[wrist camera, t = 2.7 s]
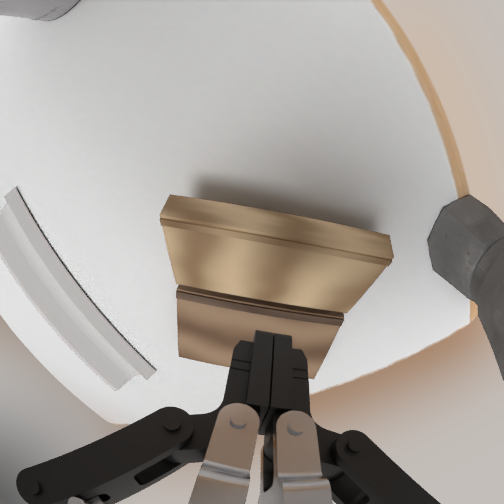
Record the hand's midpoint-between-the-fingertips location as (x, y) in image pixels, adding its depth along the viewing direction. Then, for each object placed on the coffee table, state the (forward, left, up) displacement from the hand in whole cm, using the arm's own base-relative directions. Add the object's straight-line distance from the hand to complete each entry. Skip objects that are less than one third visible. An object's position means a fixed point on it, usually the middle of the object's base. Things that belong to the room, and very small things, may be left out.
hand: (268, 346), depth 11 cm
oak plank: (+2, 0, -12) cm, 12 cm away
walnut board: (+12, 0, -14) cm, 19 cm away
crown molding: (+16, -26, -15) cm, 34 cm away
